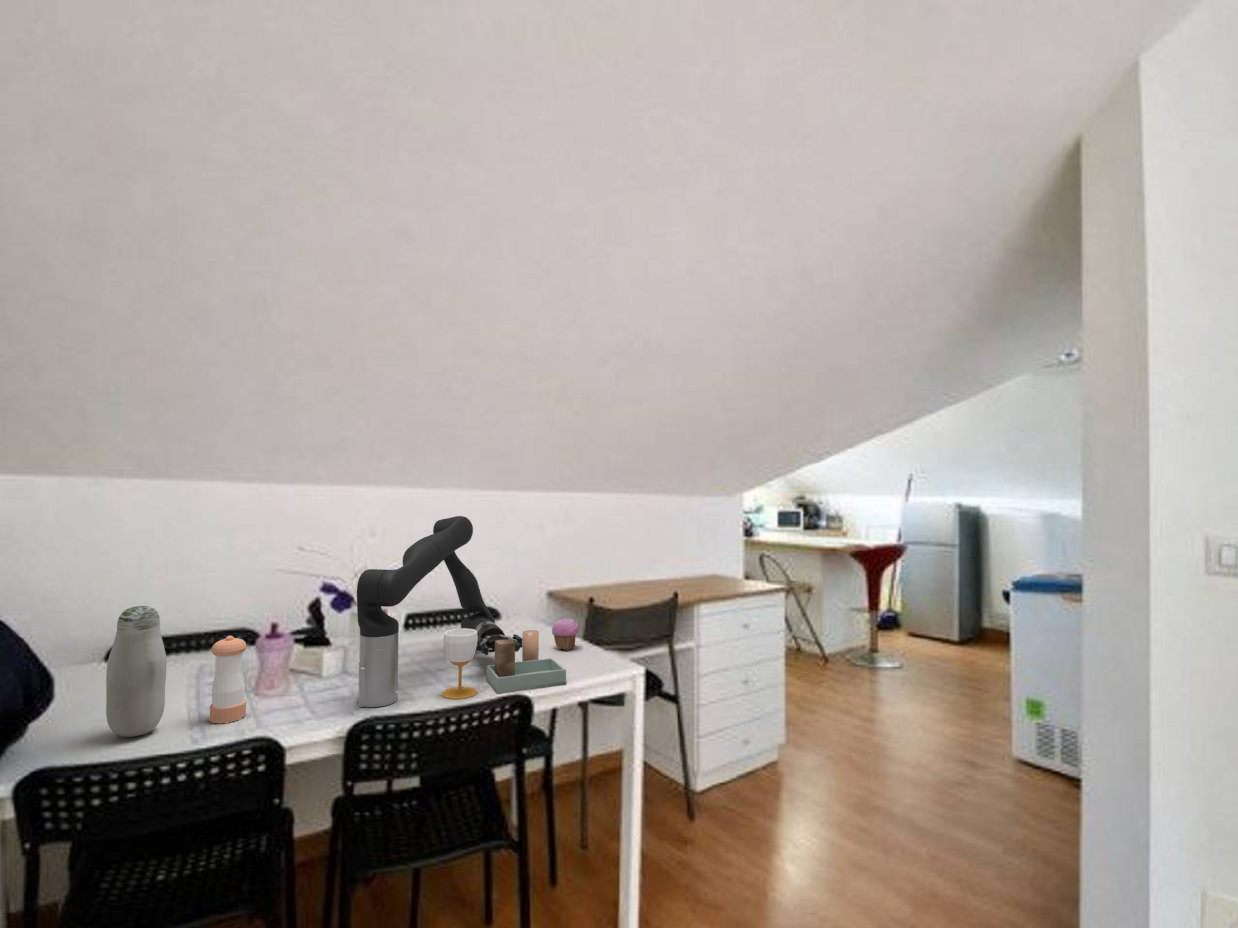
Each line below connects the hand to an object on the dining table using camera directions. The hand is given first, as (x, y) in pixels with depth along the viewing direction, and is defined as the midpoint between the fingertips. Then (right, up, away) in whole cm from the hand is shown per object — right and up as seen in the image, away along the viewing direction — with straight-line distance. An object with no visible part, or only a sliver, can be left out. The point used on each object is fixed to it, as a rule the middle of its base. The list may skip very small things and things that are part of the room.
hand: (502, 649), depth 177 cm
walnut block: (+1, -8, -2) cm, 9 cm away
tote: (+6, -9, +1) cm, 11 cm away
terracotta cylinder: (+6, -10, +13) cm, 17 cm away
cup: (-10, -9, -9) cm, 16 cm away
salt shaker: (-59, -8, -27) cm, 66 cm away
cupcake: (+14, -10, +35) cm, 39 cm away
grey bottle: (-74, -8, -37) cm, 83 cm away
